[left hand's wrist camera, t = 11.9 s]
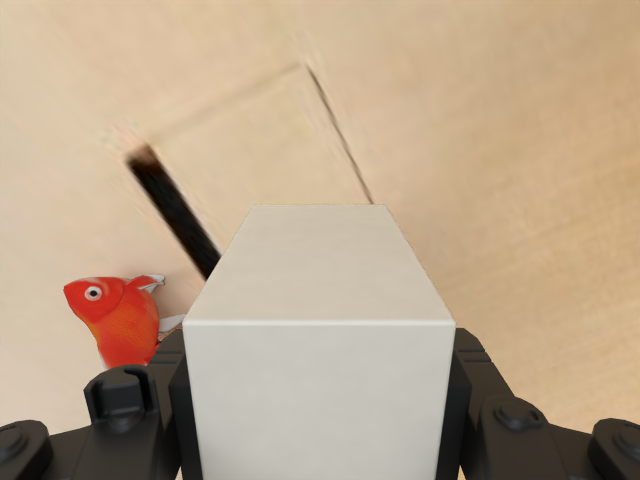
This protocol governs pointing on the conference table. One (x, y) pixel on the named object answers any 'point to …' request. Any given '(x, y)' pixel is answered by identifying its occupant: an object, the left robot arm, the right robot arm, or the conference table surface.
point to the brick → (319, 350)
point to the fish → (121, 316)
